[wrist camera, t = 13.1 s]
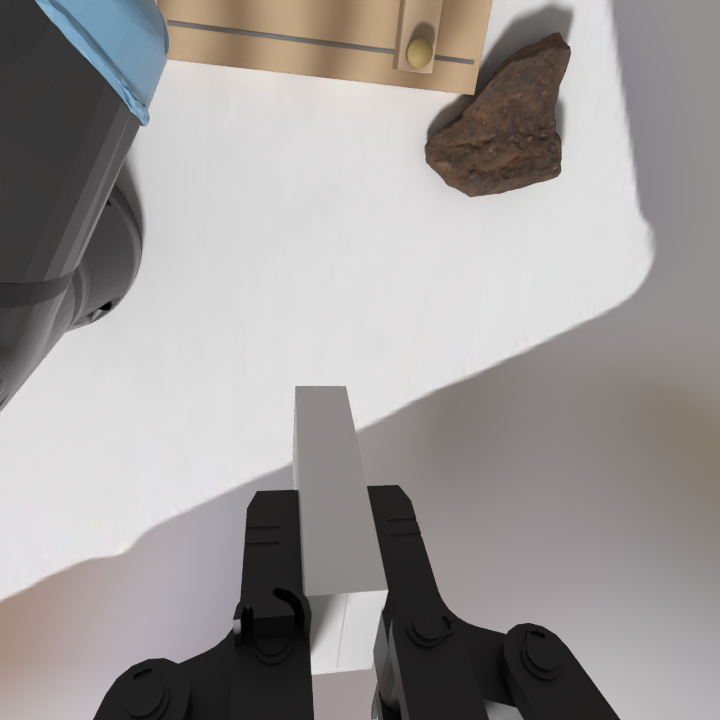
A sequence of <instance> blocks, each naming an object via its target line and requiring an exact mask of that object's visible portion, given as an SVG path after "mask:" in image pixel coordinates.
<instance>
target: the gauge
mask: <svg viewBox="0 0 720 720" xmlns="http://www.w3.org/2000/svg"><path fill="white" fill-rule="evenodd" d="M442 3H443V0H400V8H399V16H398V25H397V33H396V42H395V51H394V59H393V68H392V69H396V70H404V71H412V72H420V73H432V68H433V62H434V55H435V49H436V42H437V36H438V29H439V23H440V16H441V10H442Z"/></svg>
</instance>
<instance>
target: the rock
mask: <svg viewBox="0 0 720 720" xmlns="http://www.w3.org/2000/svg"><path fill="white" fill-rule="evenodd" d="M570 55H571V50H570V46H568V45H567V43H565V42H564V41H563V39H562V36H561V35H560V33H559V32H558V33H553V34H551V35H549V36H547V37H546V38H544V39H542V41H541V42H540V43H536V44H534V45H529V46H526V47H523V48H522V49H521V50H519V51H518V52H517V53H515V54H514V55H512V56H511V57H510V58H509V59H507V60H506V61H505V62H504V63H503V64H502V65H501V66H500V67H499V68H498V69H497V71H496V72H495V74H494V76H493V77H492V78H491V80H490V81H489V83H488V84H487V86H486V87H485V88H484V90H483V91H482V92H481V93H480V94H479V96H478V97H477V98H476V99H475V100H474V101H473V102H472V103H471V104H470V105H469V106H467V107H466V109H465V110H464V111H463V112H462V113H460V115H459V116H458V117H457V118H456V119H455V120H454V121H452V122H451V123H449V124H448V125H446V126H444V127H443V128H442V129H441V130H439V131H438V132H437V133H436V134H435V135H434V136H433V137H432V138H431V139H430V140H429V141H428V142H427V143H426V145H425V153H426V163H427V164H429V165H430V167H431V168H432V169H433V170H434V171H436V172H437V173H438V174H439V175H440V176H441V178H442V179H443V180H444V181H445V183H446V184H447V185H448V186H451V187H453V188H456V189H458V190H459V191H461V192H462V193H465V194H466V195H468V196H469V197H475V196H483V195H490V194H500V193H504V192H506V191H509V190H515V189H519V188H523V187H526V186H529V185H532V184H534V183H538V182H544V181H547V180H550V179H553V178H556V177H558V176H559V174H560V173H561V155H562V151H561V140H560V137H559V135H558V134H557V133H556V131H555V127H556V121H555V116H554V105H555V103H556V101H557V97H558V92H559V85H560V83H561V81H562V79H563V77H564V74H565V72H566V69H567V66H568V62H569V59H570Z"/></svg>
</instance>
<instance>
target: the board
mask: <svg viewBox="0 0 720 720" xmlns="http://www.w3.org/2000/svg"><path fill="white" fill-rule="evenodd" d="M492 1H493V0H443V3H442V10H441V16H440V23H439V29H438V36H437V42H436V49H435V55H434V62H433V68H432V73H420V72H412V71H404V70H396V69H392V68H393V59H394V51H395V42H396V33H397V25H398V16H399V8H400V0H157V4H158V9H159V10H160V12H161V14H162V16H163V18H164V20H165V24H166V27H167V31H168V36H169V52H168V58H167V59H170V60H178V61H187V62H195V63H204V64H212V65H221V66H229V67H238V68H247V69H255V70H264V71H272V72H281V73H289V74H298V75H306V76H315V77H323V78H332V79H341V80H349V81H358V82H366V83H375V84H383V85H392V86H400V87H409V88H417V89H426V90H435V91H443V92H452V93H460V94H469V95H474V93H475V88H476V83H477V77H478V72H479V67H480V62H481V57H482V52H483V47H484V42H485V37H486V32H487V26H488V21H489V16H490V11H491V6H492Z"/></svg>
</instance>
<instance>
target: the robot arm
mask: <svg viewBox="0 0 720 720" xmlns="http://www.w3.org/2000/svg"><path fill="white" fill-rule="evenodd" d="M168 52H169V36H168V31H167V27H166V24H165V20H164V18H163V16H162V14H161V12H160V10H159V9H158V7H157V5H156V4H155V2H154V1H153V0H0V412H1V411H2V410H3V408H4V407H5V406H6V405H7V403H8V402H9V401H10V400H11V399H12V397H13V396H14V395H15V394H16V392H17V391H18V390H19V389H20V387H21V386H22V385H23V384H24V382H25V381H26V380H27V379H28V378H29V376H30V375H31V374H32V373H33V371H34V370H35V369H36V368H37V366H38V365H39V364H40V363H41V361H42V360H43V359H44V358H45V357H46V355H47V354H48V353H49V352H50V350H51V349H52V348H53V347H54V345H55V344H56V343H57V342H58V340H59V339H60V338H61V337H62V336H63V334H64V333H65V332H68V331H71V330H74V329H76V328H79V327H82V326H85V325H88V324H90V323H92V322H95V321H97V320H98V319H100V318H102V317H104V316H105V315H107V314H108V313H109V312H110V311H112V310H113V309H114V308H115V307H116V306H117V305H118V304H119V303H120V302H121V301H122V299H123V298H124V296H125V295H126V294H127V292H128V291H129V289H130V288H131V286H132V284H133V283H134V281H135V278H136V276H137V273H138V270H139V266H140V261H141V240H140V234H139V230H138V226H137V223H136V220H135V218H134V215H133V213H132V211H131V209H130V207H129V205H128V203H127V201H126V200H125V198H124V196H123V195H122V193H121V192H120V191H119V189H118V188H117V187H116V185H115V181H116V179H117V177H118V174H119V172H120V170H121V168H122V165H123V163H124V161H125V159H126V156H127V154H128V152H129V149H130V147H131V145H132V143H133V140H134V138H135V136H136V134H137V131H138V129H139V127H140V125H142V126H147V124H148V122H149V118H150V117H149V113H148V108H149V105H150V103H151V100H152V97H153V95H154V92H155V90H156V87H157V85H158V82H159V79H160V77H161V74H162V72H163V69H164V66H165V64H166V61H167V58H168ZM293 479H294V480H293V481H294V490H276V491H257V492H256V494H255V496H254V498H253V499H252V501H251V503H250V504H249V506H248V508H247V519H246V531H245V546H244V558H243V571H242V584H241V598H240V602H239V603H238V605H237V607H236V611H235V615H234V618H233V629H232V630H231V631H230V632H229V634H228V635H227V637H226V638H225V639H224V640H222V641H221V642H220V643H219V644H218V645H217V646H215V647H213V648H212V649H210V650H208V651H206V652H204V653H202V654H200V655H198V656H195V657H193V658H191V659H189V660H186V661H184V662H182V663H179V664H177V663H175V662H173V661H170V660H168V659H165V658H159V659H148V660H145V661H143V662H140V663H138V664H136V665H133V666H131V667H130V668H129V669H128V670H127V671H125V672H124V673H123V674H122V675H121V676H119V677H118V678H117V679H116V681H115V682H114V684H113V685H112V686H111V688H110V689H109V691H108V692H107V693H106V695H105V697H104V699H103V701H102V703H101V705H100V707H99V709H98V711H97V713H96V715H95V717H94V719H93V720H314V710H313V693H312V675H314V674H324V673H333V672H343V671H353V670H362V669H371V667H372V663H373V658H374V661H375V667H376V674H377V680H378V681H377V686H376V690H375V694H374V699H373V703H372V712H371V719H377V715H378V720H620V719H619V717H618V716H617V714H616V713H615V712H614V710H613V709H612V708H611V706H610V705H609V703H608V702H607V701H606V699H605V698H604V697H603V695H602V694H601V692H600V691H599V690H598V688H597V687H596V686H595V684H594V683H593V681H592V680H591V679H590V677H589V676H588V675H587V673H586V672H585V670H584V669H583V668H582V666H581V665H580V664H579V662H578V661H577V659H576V658H575V657H574V655H573V654H572V652H571V651H570V650H569V648H568V647H567V646H566V645H565V644H564V643H563V642H562V641H561V639H560V638H559V637H558V636H557V635H556V634H554V633H552V632H551V631H549V630H548V629H546V628H544V627H543V626H539V625H535V624H531V623H525V624H518V625H516V626H515V627H513V628H512V629H511V630H509V631H508V633H507V634H504V633H500V632H495V631H492V630H488V629H484V628H480V627H477V626H474V625H471V624H468V623H466V622H465V621H463V620H461V619H460V618H458V617H457V616H456V615H454V614H453V613H452V612H451V611H450V610H449V609H448V607H447V606H446V605H445V603H444V602H443V600H442V598H441V596H440V594H439V591H438V588H437V585H436V582H435V578H434V575H433V572H432V569H431V565H430V562H429V559H428V555H427V552H426V549H425V546H424V542H423V539H422V537H421V532H420V529H419V526H418V522H416V516H415V513H414V509H413V506H412V503H411V500H410V499H409V498H408V496H407V495H406V494H405V493H404V491H403V490H402V489H401V488H400V487H399V485H385V486H366V481H365V476H364V472H363V466H362V462H361V457H360V452H359V448H358V442H357V438H356V433H355V428H354V423H353V418H352V413H351V409H350V404H349V399H348V394H347V389H346V386H295V409H294V435H293Z"/></svg>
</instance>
